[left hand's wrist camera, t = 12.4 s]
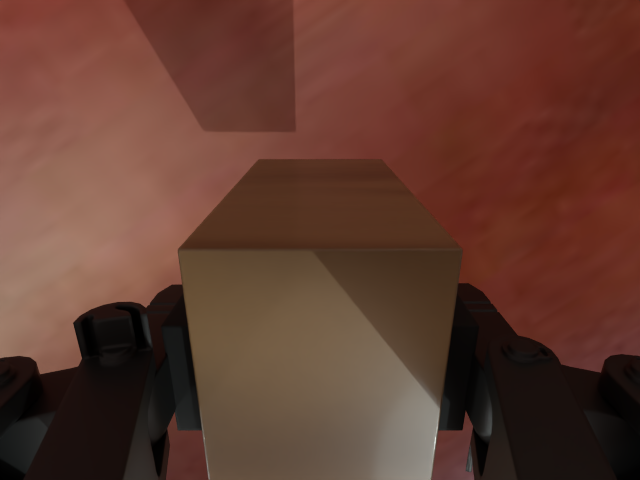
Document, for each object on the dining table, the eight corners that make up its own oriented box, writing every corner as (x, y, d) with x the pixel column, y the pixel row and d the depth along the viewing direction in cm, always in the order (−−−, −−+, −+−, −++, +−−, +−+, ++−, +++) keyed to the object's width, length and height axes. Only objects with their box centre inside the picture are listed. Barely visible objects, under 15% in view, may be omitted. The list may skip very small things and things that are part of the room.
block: (258, 159, 16) (175, 248, 7) (382, 159, 16) (464, 248, 7) (265, 305, 18) (212, 516, 9) (374, 305, 18) (427, 516, 9)
